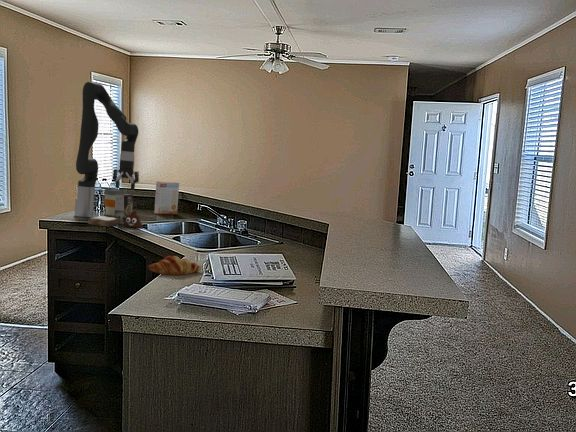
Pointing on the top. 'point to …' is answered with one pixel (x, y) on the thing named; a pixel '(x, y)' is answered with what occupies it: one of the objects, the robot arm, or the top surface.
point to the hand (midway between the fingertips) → (125, 189)
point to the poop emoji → (133, 220)
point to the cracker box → (166, 197)
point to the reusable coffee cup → (111, 200)
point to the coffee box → (123, 206)
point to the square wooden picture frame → (104, 221)
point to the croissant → (174, 266)
